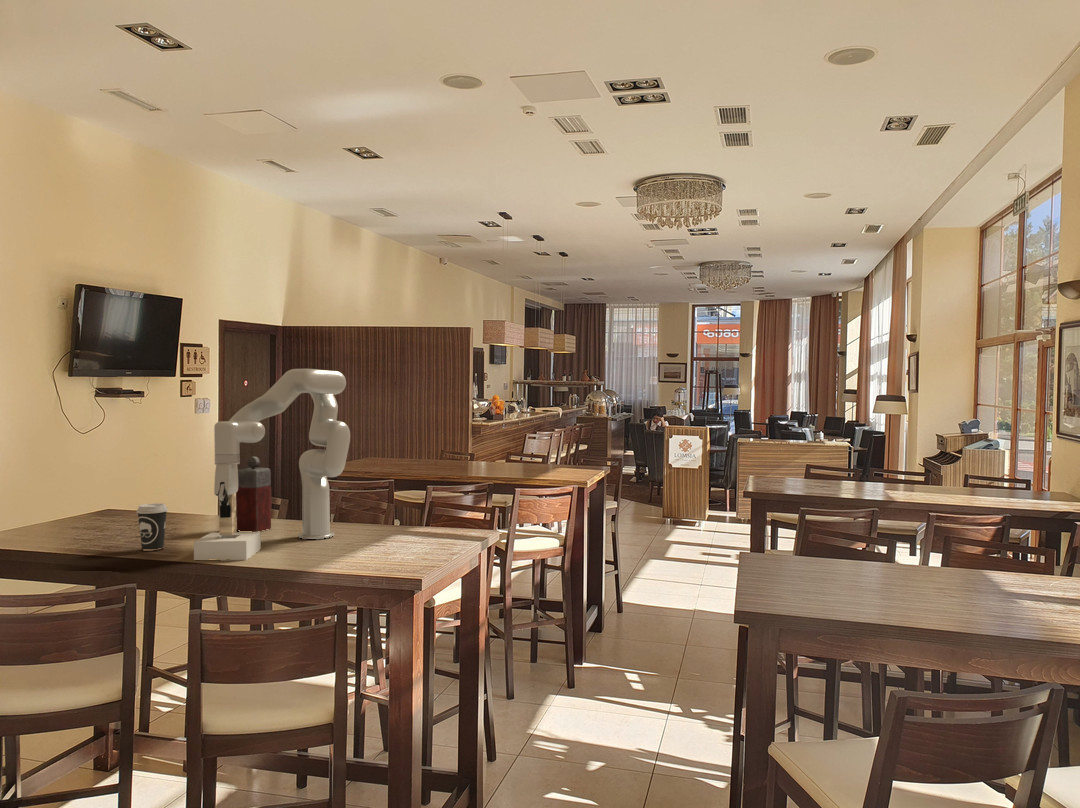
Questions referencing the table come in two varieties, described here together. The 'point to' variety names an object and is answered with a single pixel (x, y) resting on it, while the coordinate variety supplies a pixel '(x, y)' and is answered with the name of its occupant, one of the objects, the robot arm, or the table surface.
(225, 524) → the peg
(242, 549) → the block
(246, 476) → the red grey canister
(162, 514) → the coffee cup
